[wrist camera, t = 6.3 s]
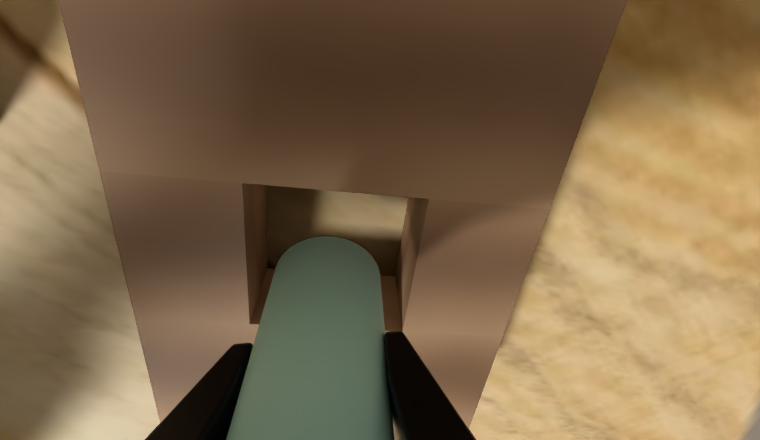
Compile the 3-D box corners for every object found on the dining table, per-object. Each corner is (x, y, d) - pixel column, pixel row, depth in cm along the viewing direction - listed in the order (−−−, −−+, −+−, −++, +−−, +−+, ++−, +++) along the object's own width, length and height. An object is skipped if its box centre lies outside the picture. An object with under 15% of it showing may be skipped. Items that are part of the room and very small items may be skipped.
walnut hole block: (451, 372, 19) (467, 433, 16) (189, 362, 18) (161, 426, 15) (568, -13, 11) (632, -15, 9) (117, -79, 10) (33, -103, 7)
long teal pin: (374, 322, 12) (398, 750, 5) (274, 317, 12) (164, 765, 5) (386, 240, 11) (442, 682, 4) (273, 232, 11) (116, 696, 4)
